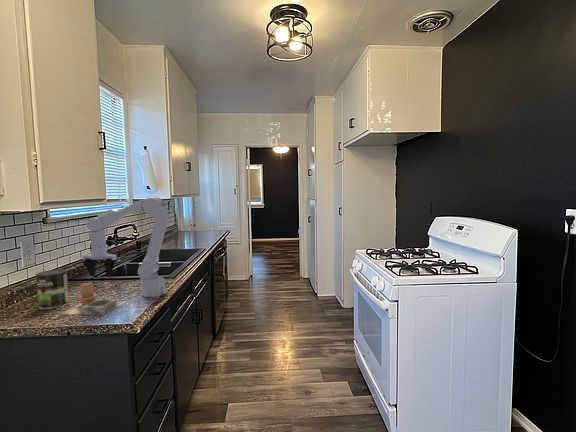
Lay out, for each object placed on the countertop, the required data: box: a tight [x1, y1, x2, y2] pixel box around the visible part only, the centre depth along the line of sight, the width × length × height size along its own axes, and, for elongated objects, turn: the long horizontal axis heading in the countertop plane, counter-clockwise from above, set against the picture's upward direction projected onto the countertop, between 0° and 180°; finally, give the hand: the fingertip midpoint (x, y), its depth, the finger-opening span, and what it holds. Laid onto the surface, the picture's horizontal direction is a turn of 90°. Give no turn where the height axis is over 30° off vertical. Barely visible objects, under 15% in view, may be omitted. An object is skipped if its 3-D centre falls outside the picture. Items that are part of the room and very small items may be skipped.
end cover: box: [77, 282, 99, 306], centre depth 129 cm, size 7×7×8 cm
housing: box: [59, 298, 126, 316], centre depth 127 cm, size 18×14×4 cm
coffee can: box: [35, 268, 69, 310], centre depth 134 cm, size 10×10×14 cm
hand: (100, 275), depth 139 cm, fingers open, 7 cm apart
